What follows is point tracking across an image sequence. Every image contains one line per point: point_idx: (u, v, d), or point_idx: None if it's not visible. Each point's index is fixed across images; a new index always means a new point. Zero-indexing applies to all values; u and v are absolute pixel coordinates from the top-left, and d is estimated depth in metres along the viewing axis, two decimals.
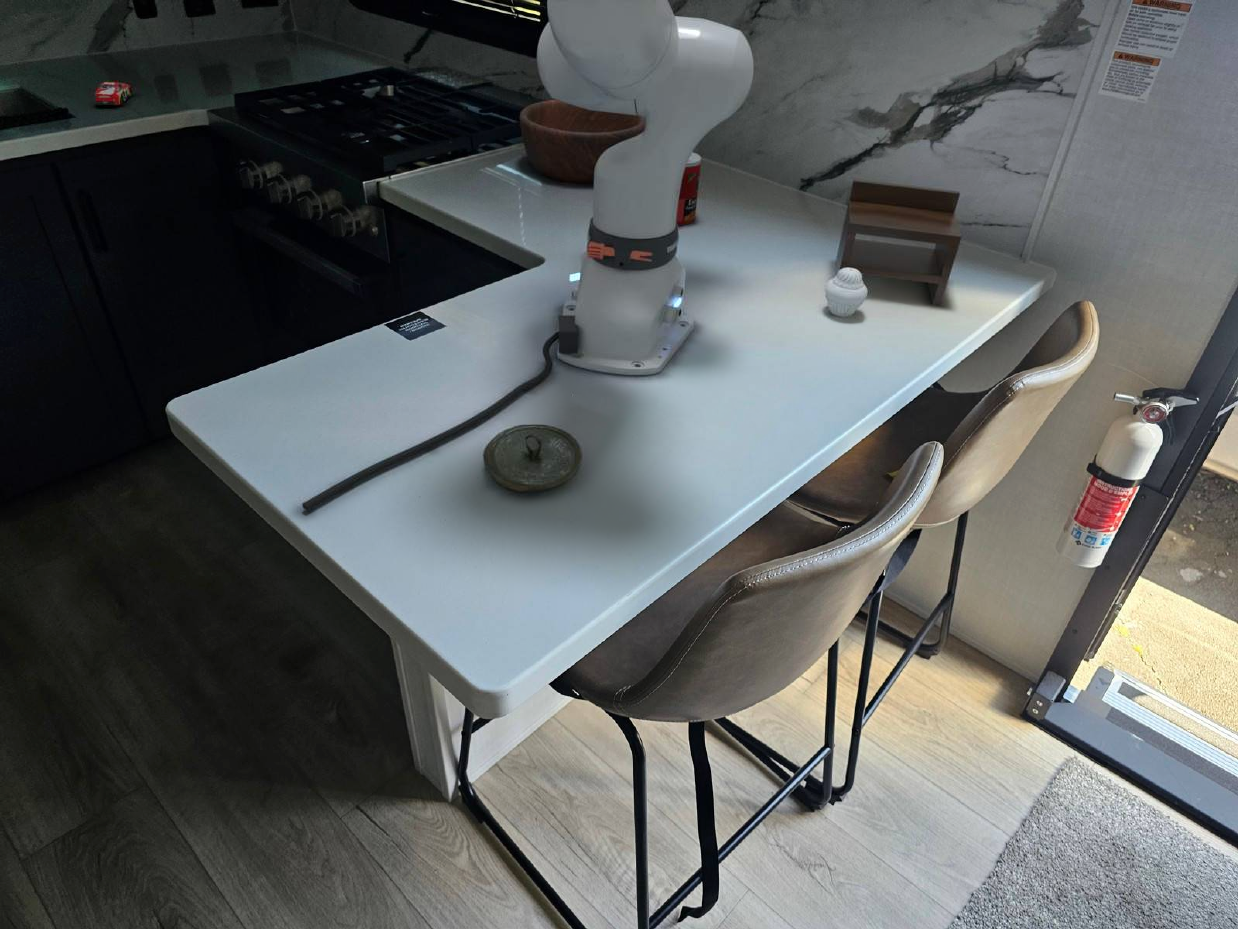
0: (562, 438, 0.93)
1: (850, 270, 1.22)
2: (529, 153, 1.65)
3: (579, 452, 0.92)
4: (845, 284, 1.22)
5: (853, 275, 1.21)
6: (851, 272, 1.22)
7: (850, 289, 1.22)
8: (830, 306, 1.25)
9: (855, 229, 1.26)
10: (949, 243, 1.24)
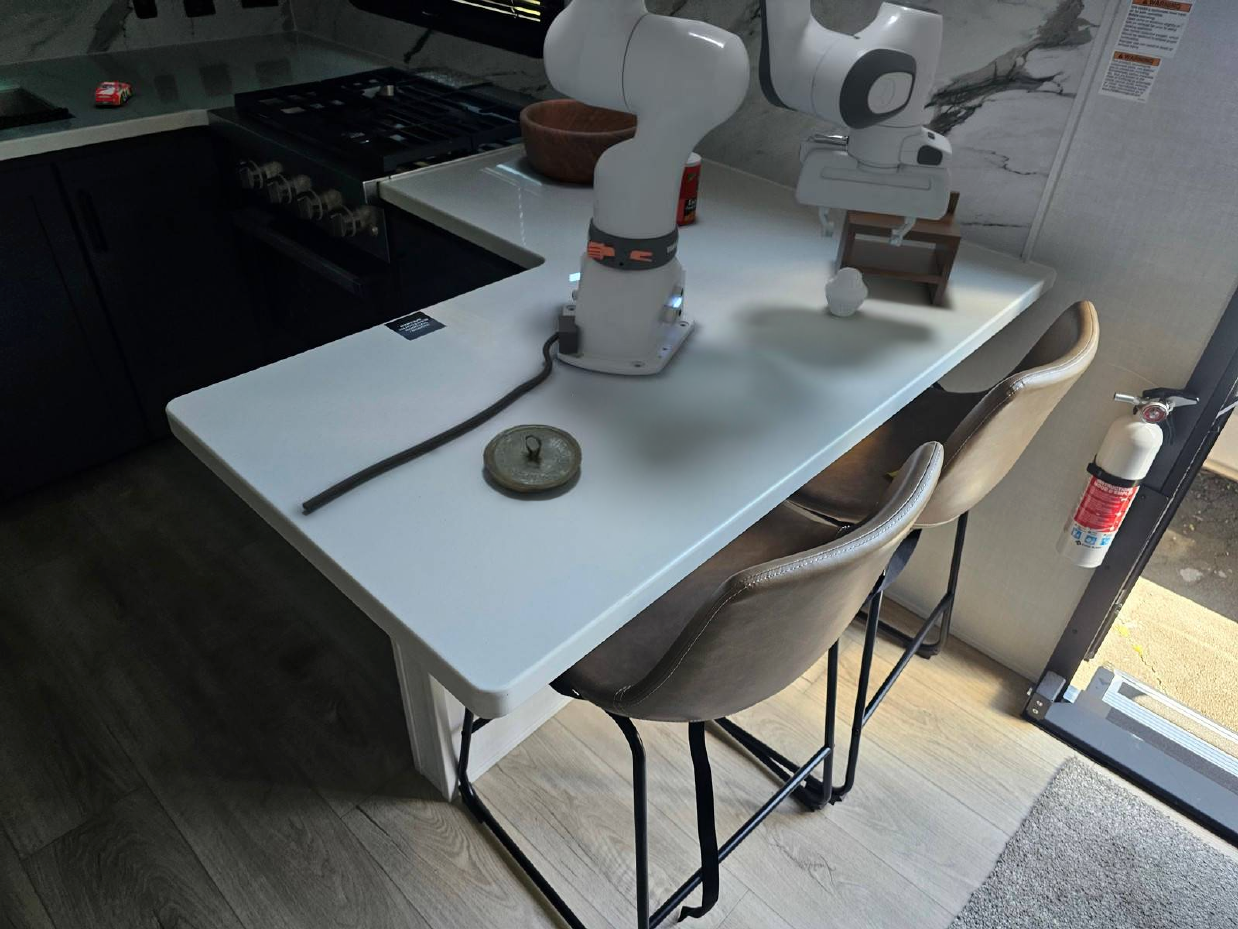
0: (562, 438, 0.93)
1: (850, 270, 1.22)
2: (529, 153, 1.65)
3: (579, 452, 0.92)
4: (845, 284, 1.22)
5: (853, 275, 1.21)
6: (851, 272, 1.22)
7: (850, 289, 1.22)
8: (830, 306, 1.25)
9: (855, 229, 1.26)
10: (949, 243, 1.24)
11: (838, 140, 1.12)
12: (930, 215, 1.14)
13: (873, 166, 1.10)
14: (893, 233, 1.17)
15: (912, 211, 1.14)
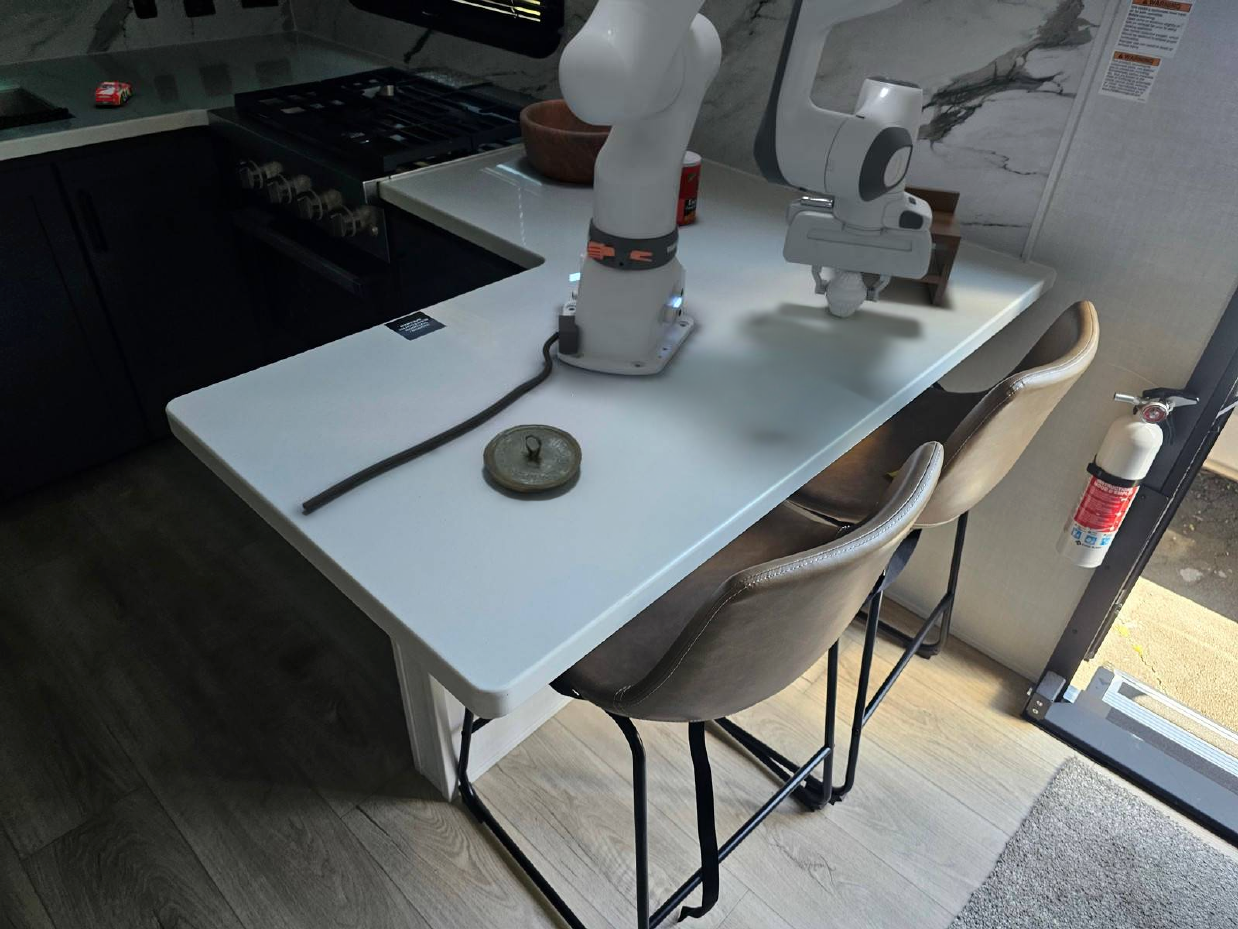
0: (562, 438, 0.93)
1: (850, 270, 1.22)
2: (529, 153, 1.65)
3: (579, 452, 0.92)
4: (845, 284, 1.22)
5: (853, 275, 1.21)
6: (851, 272, 1.22)
7: (850, 289, 1.22)
8: (830, 306, 1.25)
9: None
10: (949, 243, 1.24)
11: (824, 203, 1.17)
12: (912, 275, 1.19)
13: (857, 229, 1.16)
14: (869, 289, 1.23)
15: (894, 271, 1.19)
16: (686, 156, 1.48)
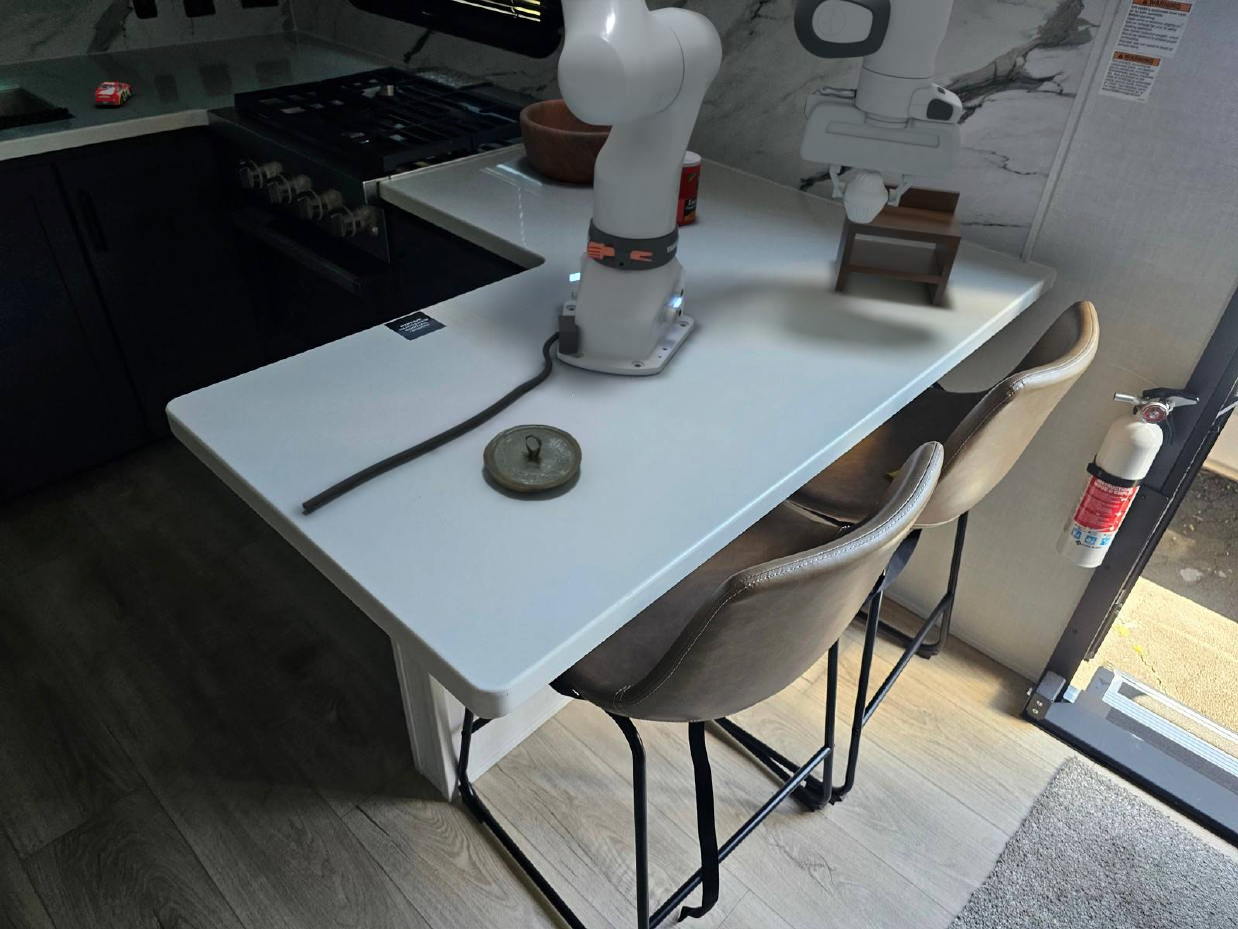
0: (562, 438, 0.93)
1: (871, 171, 1.14)
2: (529, 153, 1.65)
3: (579, 452, 0.92)
4: (865, 185, 1.13)
5: (874, 176, 1.13)
6: (872, 172, 1.13)
7: (870, 191, 1.13)
8: (848, 211, 1.17)
9: (855, 229, 1.26)
10: (949, 243, 1.24)
11: (845, 93, 1.08)
12: (937, 174, 1.10)
13: (881, 120, 1.07)
14: (891, 192, 1.14)
15: (919, 170, 1.11)
16: (686, 156, 1.48)
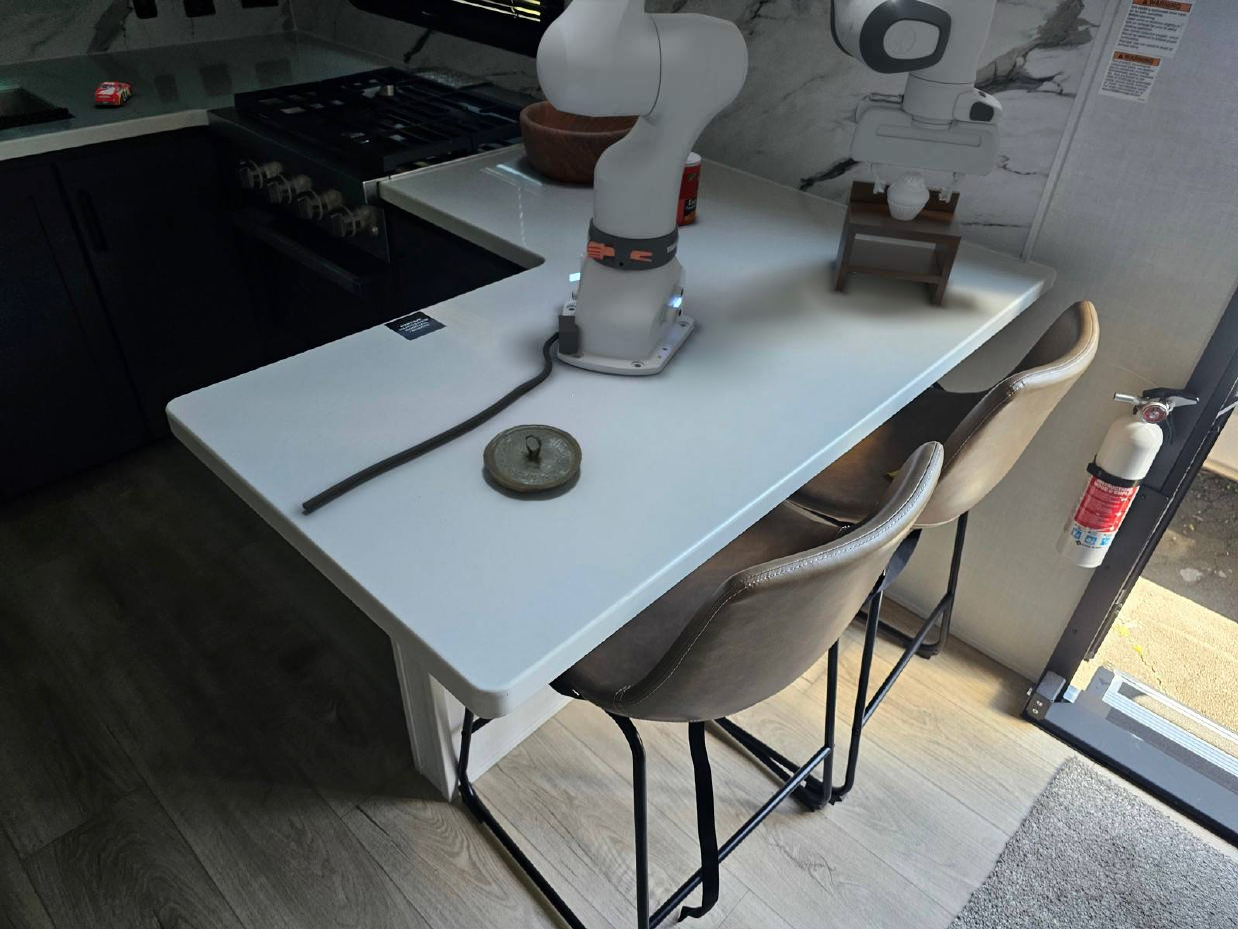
0: (562, 438, 0.93)
1: (913, 172, 1.24)
2: (529, 153, 1.65)
3: (579, 452, 0.92)
4: (908, 186, 1.24)
5: (916, 177, 1.23)
6: (914, 174, 1.24)
7: (913, 191, 1.24)
8: (892, 210, 1.27)
9: (855, 229, 1.26)
10: (949, 243, 1.24)
11: (893, 98, 1.18)
12: (979, 171, 1.20)
13: (927, 122, 1.17)
14: (942, 189, 1.24)
15: (962, 167, 1.20)
16: None
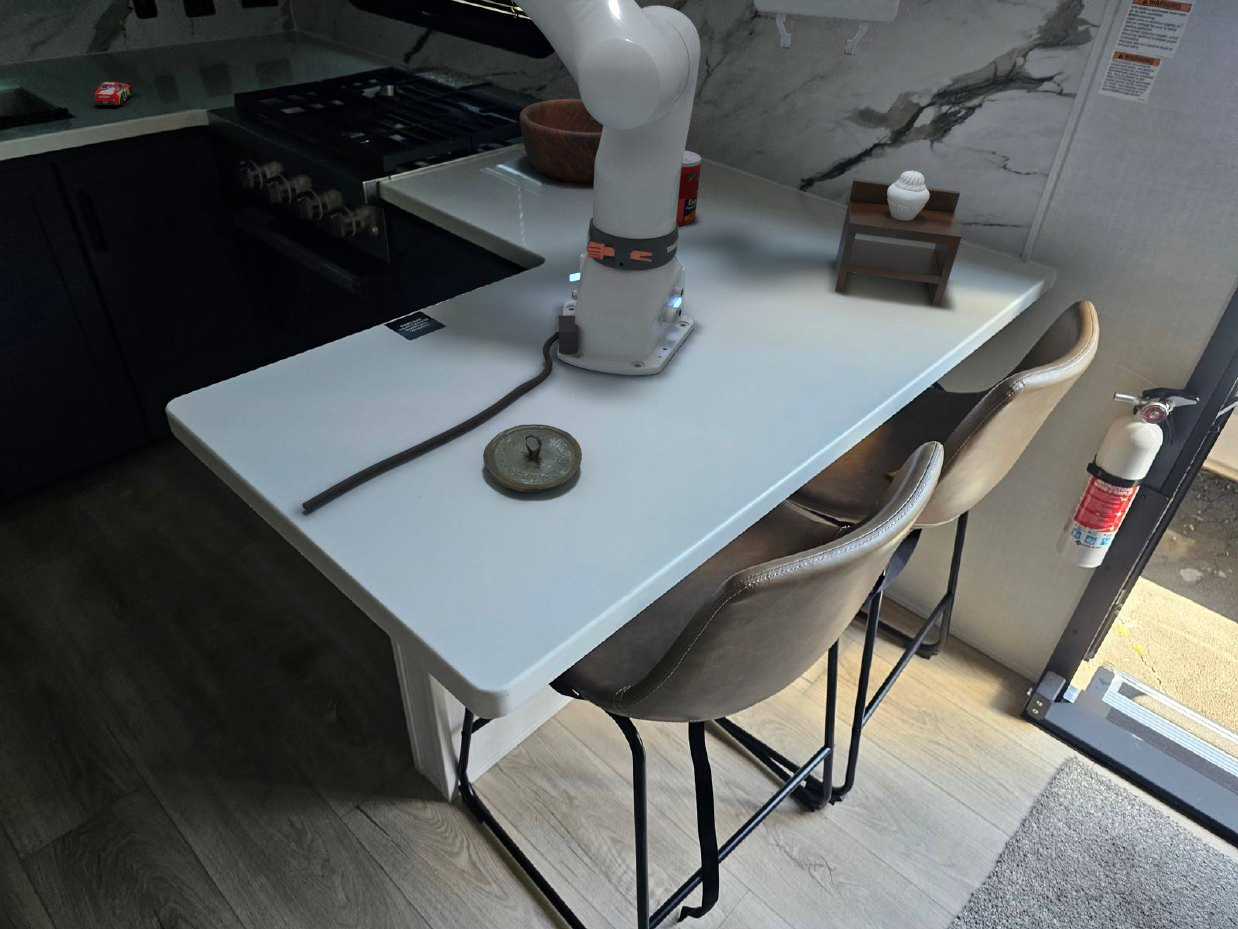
0: (562, 438, 0.93)
1: (913, 172, 1.24)
2: (529, 153, 1.65)
3: (579, 452, 0.92)
4: (908, 186, 1.24)
5: (916, 177, 1.23)
6: (914, 174, 1.24)
7: (913, 191, 1.24)
8: (892, 210, 1.27)
9: (855, 229, 1.26)
10: (949, 243, 1.24)
11: None
12: (882, 17, 1.19)
13: None
14: (848, 41, 1.23)
15: (865, 13, 1.19)
16: (686, 156, 1.48)
